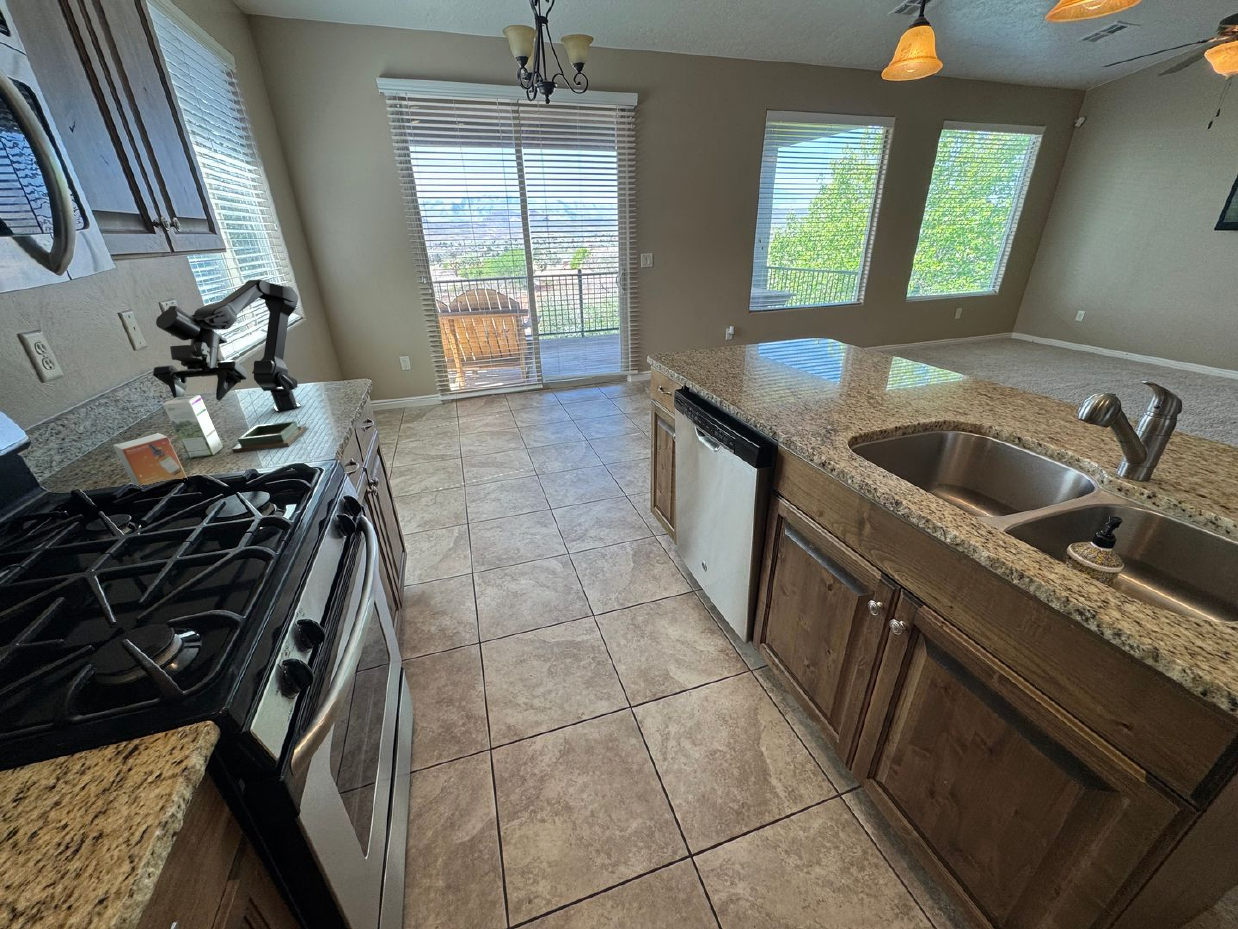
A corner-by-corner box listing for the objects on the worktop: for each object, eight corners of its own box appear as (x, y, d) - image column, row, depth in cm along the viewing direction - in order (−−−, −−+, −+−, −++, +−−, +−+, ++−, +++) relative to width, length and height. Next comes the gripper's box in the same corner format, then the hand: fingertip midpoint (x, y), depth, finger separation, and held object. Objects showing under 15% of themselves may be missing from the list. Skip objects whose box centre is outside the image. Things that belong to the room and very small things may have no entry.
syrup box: (224, 447, 127) (201, 393, 121) (213, 455, 122) (189, 400, 116) (198, 450, 126) (174, 396, 119) (187, 459, 121) (161, 403, 114)
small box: (144, 494, 104) (120, 449, 99) (134, 488, 107) (111, 444, 102) (188, 479, 110) (168, 436, 105) (178, 474, 113) (158, 432, 108)
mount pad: (256, 434, 135) (252, 424, 133) (306, 428, 137) (303, 419, 136) (233, 452, 123) (228, 441, 122) (288, 446, 125) (284, 435, 124)
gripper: (139, 334, 119) (130, 390, 114) (223, 328, 123) (218, 382, 118) (173, 359, 130) (165, 411, 125) (250, 353, 133) (245, 403, 128)
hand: (198, 401), depth 123 cm, fingers open, 9 cm apart
